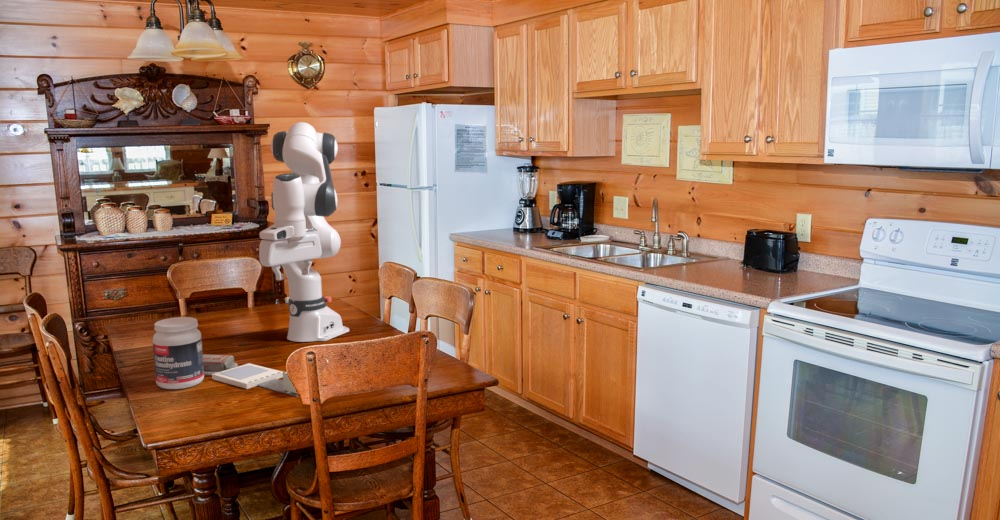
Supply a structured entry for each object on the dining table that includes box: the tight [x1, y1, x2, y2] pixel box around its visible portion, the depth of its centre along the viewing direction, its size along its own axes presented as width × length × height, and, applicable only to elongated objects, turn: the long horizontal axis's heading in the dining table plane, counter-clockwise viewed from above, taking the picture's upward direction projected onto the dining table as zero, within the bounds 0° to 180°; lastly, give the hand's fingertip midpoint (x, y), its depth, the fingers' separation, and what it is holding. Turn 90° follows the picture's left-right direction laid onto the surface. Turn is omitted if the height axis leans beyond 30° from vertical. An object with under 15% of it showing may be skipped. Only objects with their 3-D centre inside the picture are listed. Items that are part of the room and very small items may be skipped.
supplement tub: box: [152, 316, 205, 390], centre depth 217 cm, size 13×13×18 cm
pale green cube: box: [282, 371, 298, 394], centre depth 210 cm, size 5×6×5 cm
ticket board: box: [211, 362, 299, 398], centre depth 218 cm, size 13×33×2 cm, turn 55°
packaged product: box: [202, 353, 239, 376], centre depth 231 cm, size 18×5×10 cm
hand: (292, 277), depth 222 cm, fingers open, 8 cm apart
